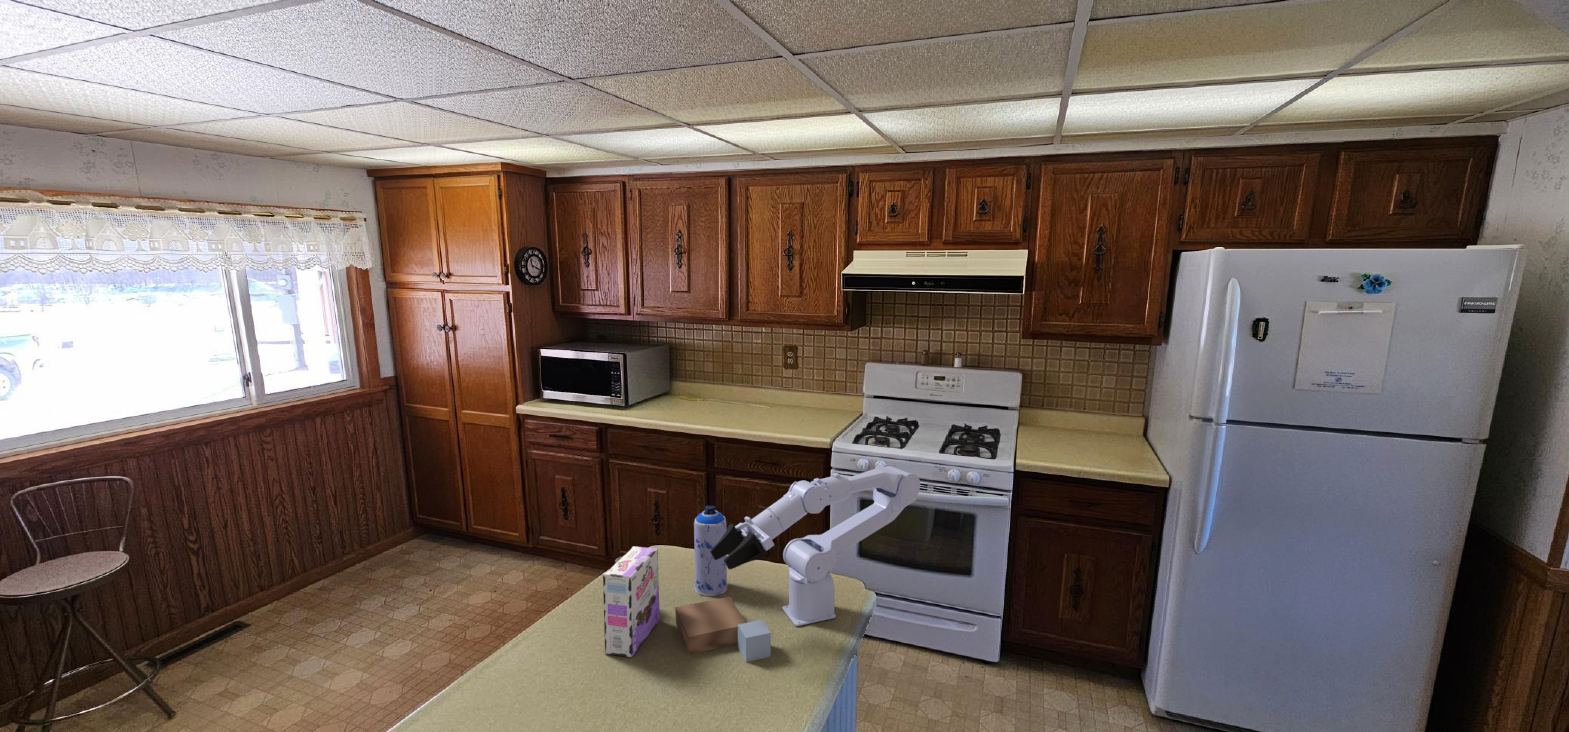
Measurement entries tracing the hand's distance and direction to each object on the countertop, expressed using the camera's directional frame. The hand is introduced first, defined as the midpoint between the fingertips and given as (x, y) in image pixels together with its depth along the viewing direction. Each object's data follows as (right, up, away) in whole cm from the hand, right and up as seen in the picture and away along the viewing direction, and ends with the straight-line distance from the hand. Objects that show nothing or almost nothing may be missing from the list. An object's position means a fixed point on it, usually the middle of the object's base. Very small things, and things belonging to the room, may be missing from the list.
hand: (719, 560), depth 121 cm
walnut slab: (-2, -17, +6) cm, 18 cm away
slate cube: (+7, -18, -1) cm, 19 cm away
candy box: (-18, -17, +4) cm, 25 cm away
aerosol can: (-5, -14, +24) cm, 29 cm away
